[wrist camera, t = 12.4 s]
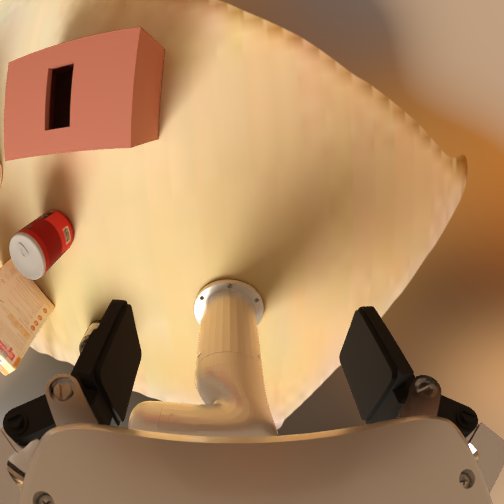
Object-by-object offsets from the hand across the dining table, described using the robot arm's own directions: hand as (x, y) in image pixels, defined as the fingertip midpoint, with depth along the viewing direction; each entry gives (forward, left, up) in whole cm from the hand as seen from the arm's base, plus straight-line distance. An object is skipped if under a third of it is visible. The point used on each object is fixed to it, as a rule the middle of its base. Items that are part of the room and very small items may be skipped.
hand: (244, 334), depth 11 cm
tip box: (+12, +22, -33) cm, 41 cm away
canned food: (-10, +32, -33) cm, 47 cm away
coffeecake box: (-24, +45, -33) cm, 61 cm away
